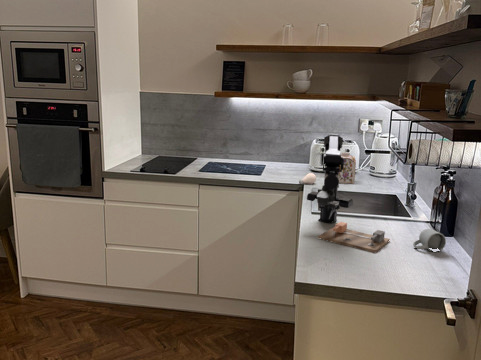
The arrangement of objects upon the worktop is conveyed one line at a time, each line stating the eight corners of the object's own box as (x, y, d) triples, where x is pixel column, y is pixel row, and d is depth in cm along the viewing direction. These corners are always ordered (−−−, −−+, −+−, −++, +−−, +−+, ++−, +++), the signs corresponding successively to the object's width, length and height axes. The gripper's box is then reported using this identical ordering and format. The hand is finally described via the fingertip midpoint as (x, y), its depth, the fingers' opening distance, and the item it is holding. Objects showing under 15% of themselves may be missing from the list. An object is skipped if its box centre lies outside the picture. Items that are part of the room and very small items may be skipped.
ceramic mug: (433, 244, 192) (436, 226, 190) (445, 252, 184) (447, 233, 182) (408, 245, 191) (410, 227, 189) (419, 253, 183) (421, 234, 181)
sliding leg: (329, 234, 195) (330, 227, 194) (339, 228, 203) (340, 221, 202) (336, 236, 193) (337, 229, 193) (346, 230, 201) (347, 223, 201)
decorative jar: (354, 183, 291) (357, 154, 286) (335, 183, 291) (337, 153, 287) (350, 179, 302) (352, 151, 298) (331, 178, 302) (334, 150, 298)
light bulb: (299, 177, 281) (316, 171, 284) (295, 177, 288) (311, 171, 290) (302, 188, 282) (319, 182, 285) (298, 187, 289) (314, 181, 291)
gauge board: (317, 238, 194) (318, 227, 193) (334, 228, 207) (335, 218, 206) (375, 252, 181) (376, 241, 180) (389, 241, 194) (390, 230, 193)
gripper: (301, 182, 198) (299, 219, 201) (344, 190, 187) (341, 228, 191) (314, 178, 207) (311, 213, 210) (355, 185, 196) (351, 221, 200)
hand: (328, 219), depth 203 cm, fingers closed
